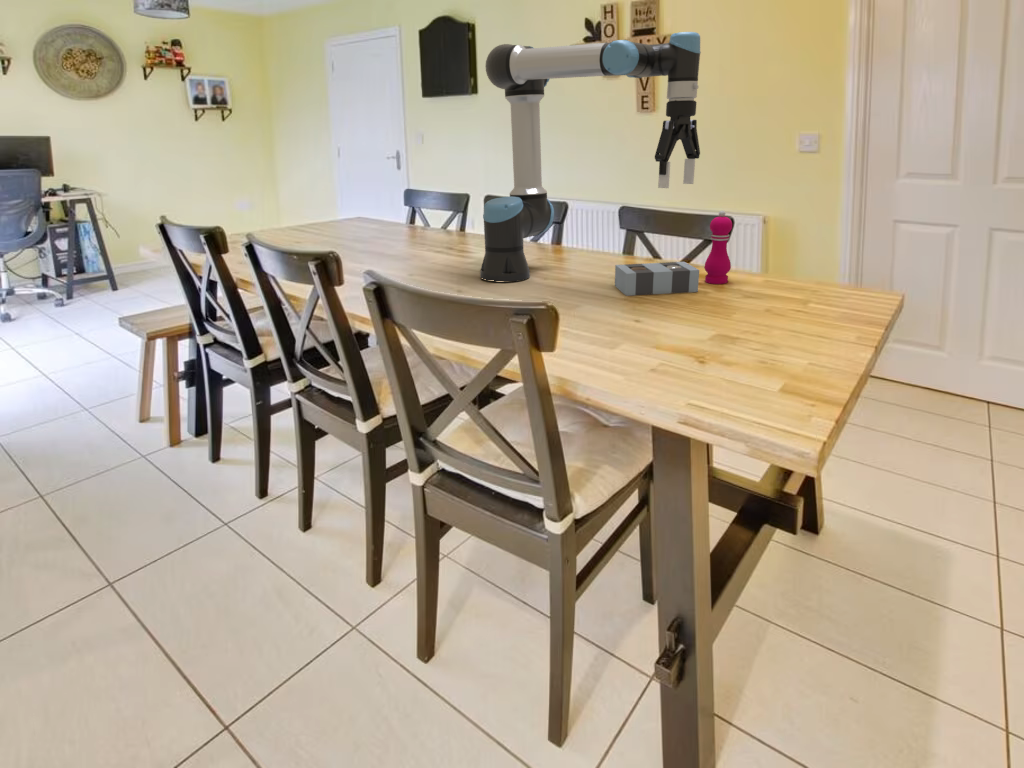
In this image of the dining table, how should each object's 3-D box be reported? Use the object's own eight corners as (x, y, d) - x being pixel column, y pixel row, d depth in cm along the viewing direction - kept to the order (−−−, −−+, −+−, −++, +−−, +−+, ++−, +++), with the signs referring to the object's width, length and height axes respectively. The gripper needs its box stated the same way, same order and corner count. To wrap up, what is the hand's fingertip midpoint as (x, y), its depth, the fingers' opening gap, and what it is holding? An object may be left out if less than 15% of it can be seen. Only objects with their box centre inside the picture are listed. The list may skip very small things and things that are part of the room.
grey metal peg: (668, 289, 186) (669, 268, 183) (663, 286, 189) (664, 265, 187) (682, 288, 186) (683, 267, 184) (677, 285, 190) (678, 264, 188)
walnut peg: (632, 291, 185) (633, 270, 183) (628, 287, 188) (629, 267, 186) (646, 290, 185) (647, 269, 183) (642, 287, 189) (643, 266, 187)
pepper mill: (730, 284, 189) (737, 212, 182) (704, 284, 191) (709, 212, 183) (728, 279, 196) (734, 209, 189) (702, 278, 197) (707, 209, 190)
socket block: (625, 295, 181) (626, 273, 179) (614, 285, 192) (615, 264, 190) (697, 291, 183) (699, 269, 180) (682, 282, 194) (684, 261, 192)
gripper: (670, 99, 161) (665, 190, 169) (717, 99, 179) (710, 182, 186) (643, 100, 166) (639, 189, 174) (691, 100, 183) (685, 181, 191)
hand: (676, 185), depth 180 cm, fingers open, 13 cm apart
